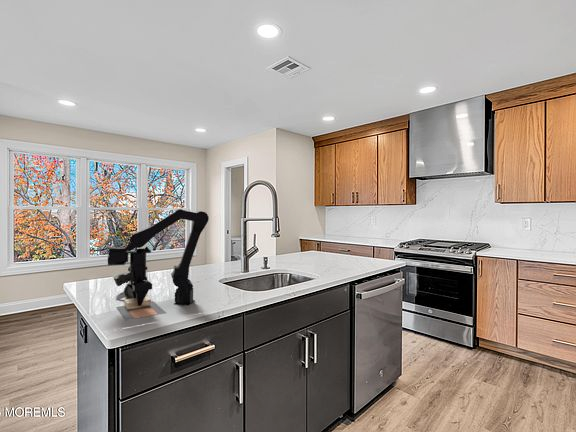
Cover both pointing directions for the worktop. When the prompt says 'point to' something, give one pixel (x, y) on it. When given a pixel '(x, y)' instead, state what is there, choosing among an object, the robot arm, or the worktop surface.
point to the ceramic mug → (125, 293)
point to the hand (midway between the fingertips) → (137, 303)
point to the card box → (133, 303)
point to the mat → (140, 311)
